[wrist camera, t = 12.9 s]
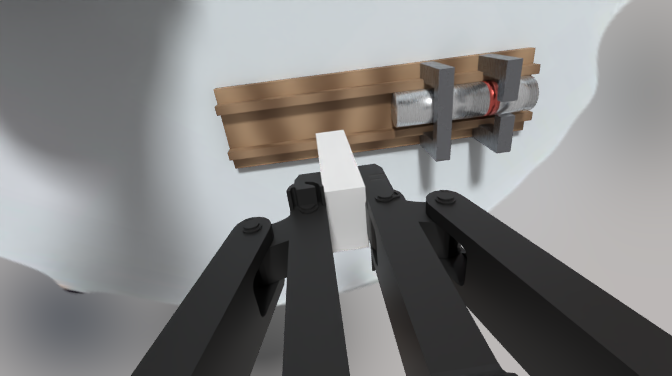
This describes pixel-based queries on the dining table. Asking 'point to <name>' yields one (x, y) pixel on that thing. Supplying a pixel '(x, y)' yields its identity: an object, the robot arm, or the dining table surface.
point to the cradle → (339, 110)
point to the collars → (443, 83)
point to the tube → (462, 102)
